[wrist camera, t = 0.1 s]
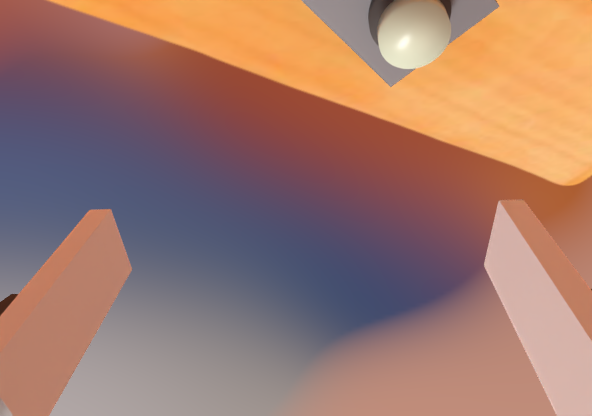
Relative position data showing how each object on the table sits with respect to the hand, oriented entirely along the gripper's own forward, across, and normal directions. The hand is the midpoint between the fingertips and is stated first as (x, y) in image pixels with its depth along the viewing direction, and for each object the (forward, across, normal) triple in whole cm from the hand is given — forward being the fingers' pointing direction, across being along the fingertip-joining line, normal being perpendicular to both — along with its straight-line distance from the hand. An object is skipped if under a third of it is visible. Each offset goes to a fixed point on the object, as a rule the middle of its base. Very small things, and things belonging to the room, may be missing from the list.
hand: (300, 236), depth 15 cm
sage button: (+22, +7, +3) cm, 23 cm away
